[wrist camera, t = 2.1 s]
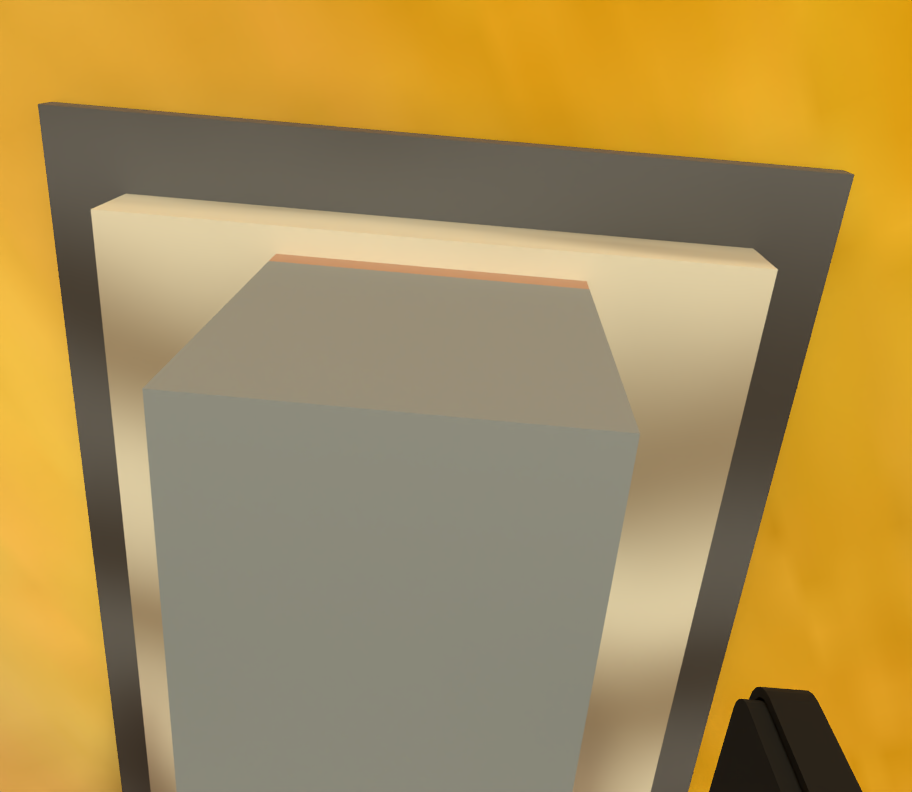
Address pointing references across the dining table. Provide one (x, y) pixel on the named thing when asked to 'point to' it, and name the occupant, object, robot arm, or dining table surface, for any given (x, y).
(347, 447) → the block
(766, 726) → the robot arm
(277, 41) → the dining table surface
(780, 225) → the board
